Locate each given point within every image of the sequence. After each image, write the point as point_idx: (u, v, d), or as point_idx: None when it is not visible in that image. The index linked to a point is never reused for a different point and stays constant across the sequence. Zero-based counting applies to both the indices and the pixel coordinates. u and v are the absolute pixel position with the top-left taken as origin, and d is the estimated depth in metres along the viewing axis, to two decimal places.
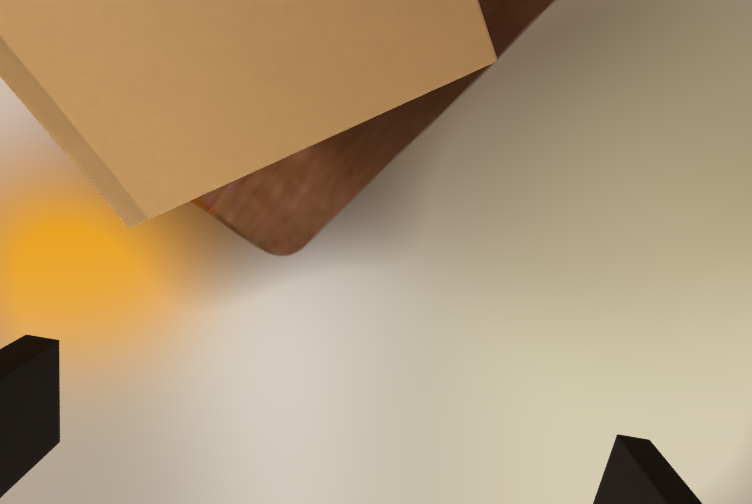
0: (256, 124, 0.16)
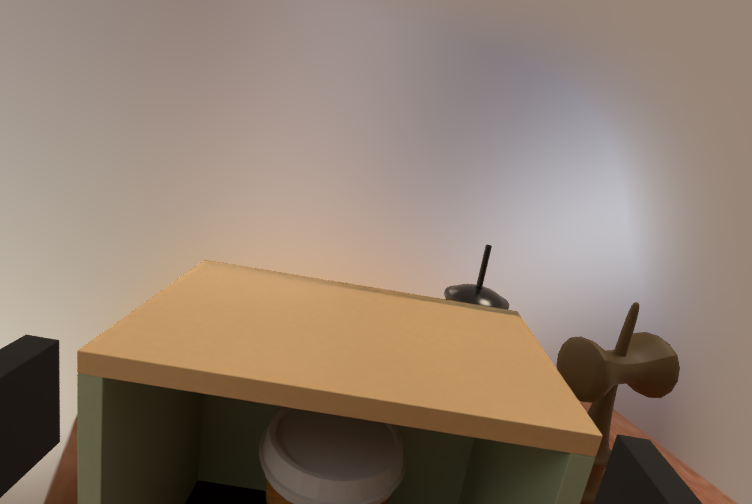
0: (183, 294, 0.29)
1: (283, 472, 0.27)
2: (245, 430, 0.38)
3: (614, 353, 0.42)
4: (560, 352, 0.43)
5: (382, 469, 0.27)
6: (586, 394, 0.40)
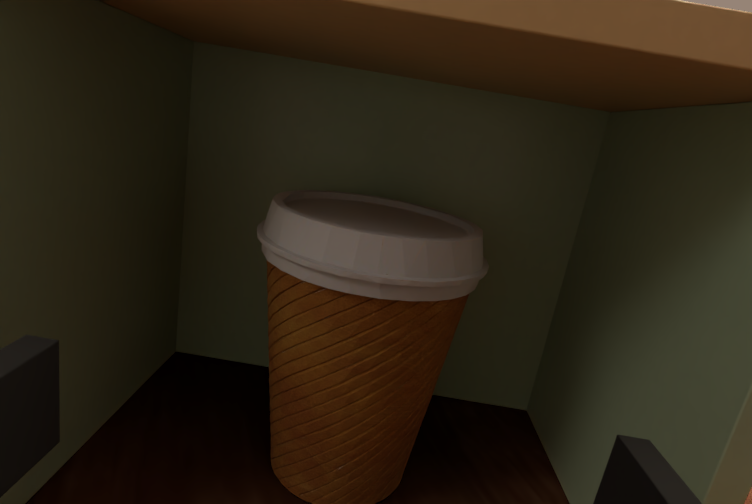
0: None
1: (296, 234, 0.16)
2: (240, 275, 0.28)
3: None
4: None
5: (460, 239, 0.17)
6: None
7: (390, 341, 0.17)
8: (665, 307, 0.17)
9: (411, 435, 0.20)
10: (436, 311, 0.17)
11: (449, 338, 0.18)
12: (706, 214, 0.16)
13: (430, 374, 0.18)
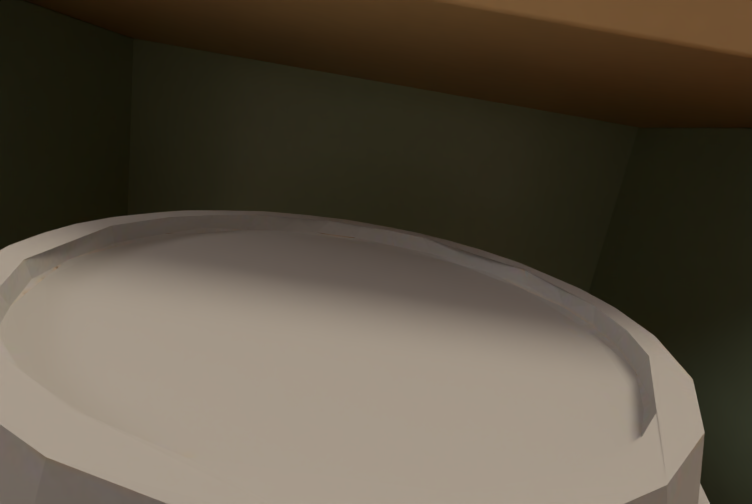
0: None
1: None
2: None
3: None
4: None
5: (670, 440, 0.04)
6: None
7: None
8: (731, 392, 0.13)
9: None
10: None
11: None
12: None
13: None
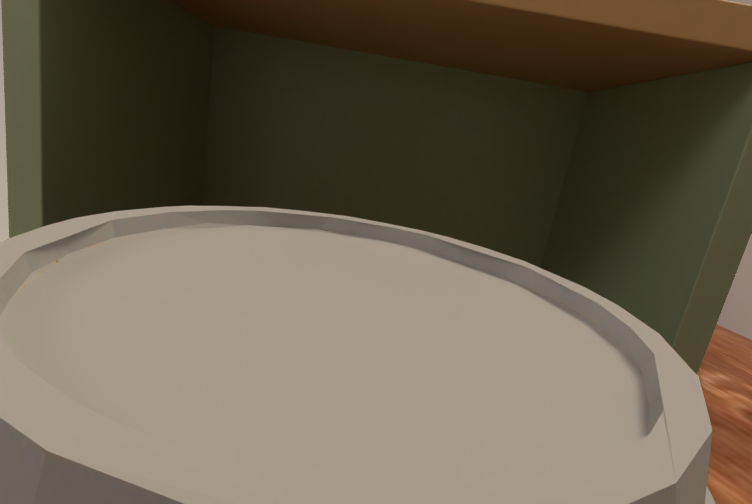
0: None
1: None
2: None
3: None
4: None
5: (678, 438, 0.04)
6: None
7: None
8: (627, 252, 0.20)
9: None
10: None
11: None
12: (660, 169, 0.19)
13: None
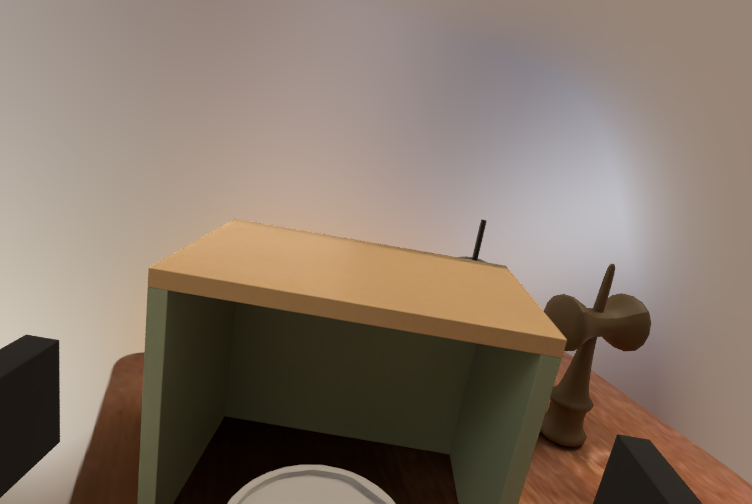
0: (222, 240, 0.35)
1: None
2: (267, 370, 0.44)
3: (593, 309, 0.48)
4: (545, 309, 0.49)
5: None
6: (567, 343, 0.46)
7: None
8: (495, 416, 0.34)
9: None
10: None
11: None
12: (509, 375, 0.32)
13: None
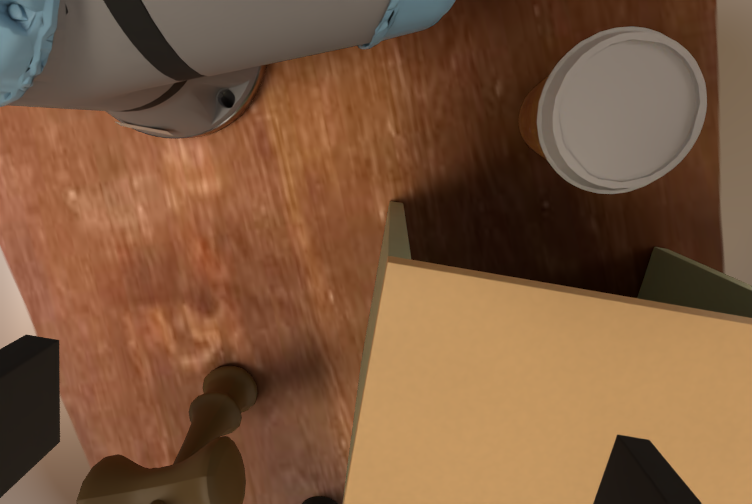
0: None
1: None
2: None
3: None
4: None
5: (590, 52, 0.26)
6: (231, 445, 0.33)
7: None
8: None
9: None
10: None
11: None
12: None
13: None
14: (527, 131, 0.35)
